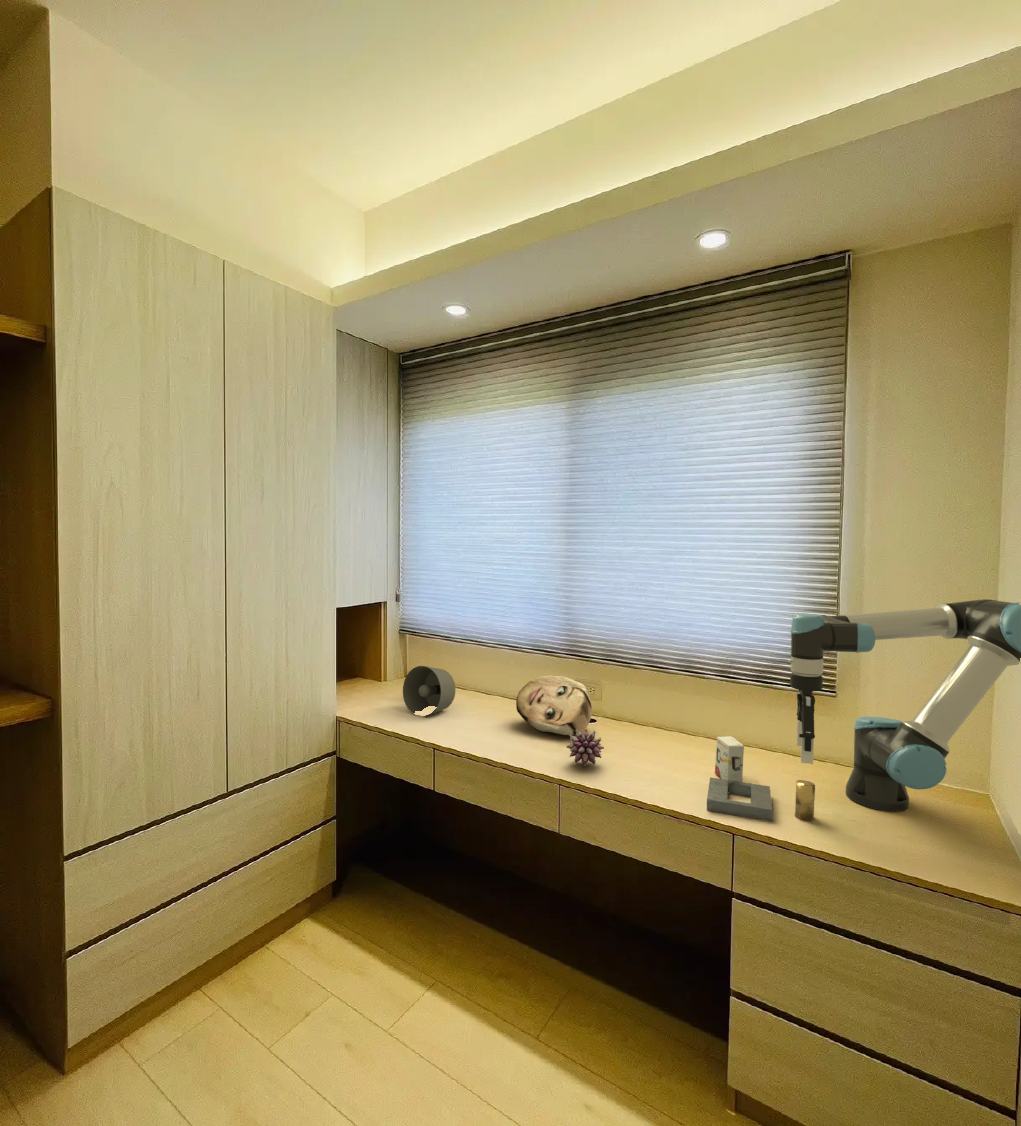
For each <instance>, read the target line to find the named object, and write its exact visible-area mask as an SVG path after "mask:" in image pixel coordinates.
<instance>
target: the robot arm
mask: <svg viewBox="0 0 1021 1126" xmlns="http://www.w3.org/2000/svg"><path fill="white" fill-rule="evenodd" d="M1019 603H1020V602H1009V601H1002V600H994V599H988V598H987V599H974V600H965V601H958V602H956V601H955V602H951V603H950V602H949V603H940V604H938V605H937V606H936V607H935V608H921V609H920V608H919V609H909V610H907V609H906V610H895V611H894V610H893V611H883V612H882V611H881V612H880V611H879V612H869V613H857V614H844V615H832V616H831V615H828V616H827V615H825V614H817V613H796V614H794V615H793V616H792V619H791V629H790V633H791V634H790V637H791V639H790V641H791V642H790V644H791V645H790V647H791V648H790V650H791V651H790V652H791V653H790V658H791V659H788V661H787V662H788V664H790V671H791V673H790V683H789V685H790V687H791V688H793V689H794V690H797V691H798V693H796V700H797V702H796V703H797V711H796V716H797V717H796V718H797V719H796V720H797V722H796V723H797V725H796V726H797V727H796V729H797V730H796V746H798V747H800V763H802V764H810V765H813V764H814V743H815V742H814V740H815V738H816V734H815V704H816V697H815V695H814V694H813V692H820V691H822V689H823V680H824V679H823V678H824V677H823V676H822V675H823V673H824V652H837V653H838V652H839V653H841V652H842V653H843V652H844V653H845V652H846V653H856V654H858V653H868V652H871V651H872V650H873V649H874V647H875V645H876V641H879V640H896V639H909V638H910V639H912V638H922V637H937V636H939V637H940V636H941V637H942V638H944V639H946V640H950V639H963V640H967V641H968V644H969V646H968V647H967V649H966V651H964V653H963V654H962V655H961V657H960V658H959V659H958V661H957V662H956V663H955V664H954V666H953V667H952V668H951V670H950V671H949V672H948V674H946V676H945V677H944V679H943V680H941V683H940V684H939V685H938V687H937V688H936V689H935V690H934V691H933V692H932V694H931V696H930V697H929V698H928V699H927V701H926V702H925V703H924V704H923V706H922V707H921V708H920V710H919V711H918V712H917V714H916V715H915V716H914V717H913V719H911V720H906V721H902V720H898V719H895V718H894V719H893V718H889V717H882V716H881V717H879V716H859V717H857V718H856V719H855V723H854V724H855V725H854V728H853V730H854V741H853V743H854V744H853V745H854V746H853V753H854V754H853V769H852V771H851V774H850V775H849V778H848V780H847V782H846V784H845V796H846V797H847V798H848V799H850V800H851V801H852V802H854V803H856V804H858V805H861V806H864V807H867V808H870V809H873V810H879V811H887V812H903V811H907V810H908V809H909V808H910V797H909V794H908V790H907V788H909V789H913V790H918V791H919V790H927V789H932V788H934V787H935V786H938V785H939V784H940V783H941V782H942V781H943V780H944V778H945V776H946V774H947V770H948V769H947V763H946V760H945V759H946V758H947V756H948V755H949V754H950V752H951V751H950V748H949V745H948V744H949V741H950V740H951V739H952V737H954V735H955V734H956V732H957V731H958V730H959V729H960V727H961V726H962V725H963V724H964V723H965V721H966V719H968V717H969V716H970V715H971V714H972V712H973V711H974V710H975V708H976V706H978V704H980V701H982V699H983V698H984V697H985V696H986V694H987V693H988V692H989V690H990V689H991V688H992V686H993V685H995V683H996V681H997V680H998V679H999V678H1000V676H1001V675H1002V674H1003V673H1004V672H1005V670H1006V669H1007V668H1008V667H1010V666H1017V665H1020V663H1021V662H1020V658H1021V605H1020V604H1019ZM1019 662H1020V663H1019Z"/></svg>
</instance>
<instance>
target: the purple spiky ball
mask: <svg viewBox="0 0 1021 1126" xmlns="http://www.w3.org/2000/svg"><path fill="white" fill-rule="evenodd" d="M575 731H576V735H569V740H570V742H569V744H566V749H570V750H569V752H570V754H569V757H570V758H571V757H574V759H573V760H574V764H577V763H578V762H579V761H581V763H582V766H583V767H584V768H585V767H587V764H588V763H592V764H593V765H596V758H600V759H602V755H601V754H602V753H601V752H602V750H604V749H605V747H604V746H603V745H601V741H602V737H601V736H600V737H596V730H593V731H592V732H590V733H589V732H588V727H587V728H585V730H584V732H583V733H581V732H579V731H578V730H575Z"/></svg>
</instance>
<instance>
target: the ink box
mask: <svg viewBox="0 0 1021 1126" xmlns="http://www.w3.org/2000/svg"><path fill="white" fill-rule="evenodd" d="M715 749H716V750H715V765H714V774H715V775H716V776H717V777H719V779H724V780H731V781H737V782H743V770H744V750H745V746H744V744H742V743H741V742H740V741H739V740H737V739H736V738H734V737H733V736H729V735H727V736H716V748H715Z"/></svg>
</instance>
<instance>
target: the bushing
mask: <svg viewBox="0 0 1021 1126" xmlns="http://www.w3.org/2000/svg"><path fill="white" fill-rule="evenodd" d="M815 795H816V784H815V783H813V782H812V781H809V780H805V779H799V780H796V782H795V805H794V806H795V807H794V808H795V809H794V817H795V818H796V819H798V820H800V821H804V822H813V821H815V799H816V798H815V797H816V796H815Z"/></svg>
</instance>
